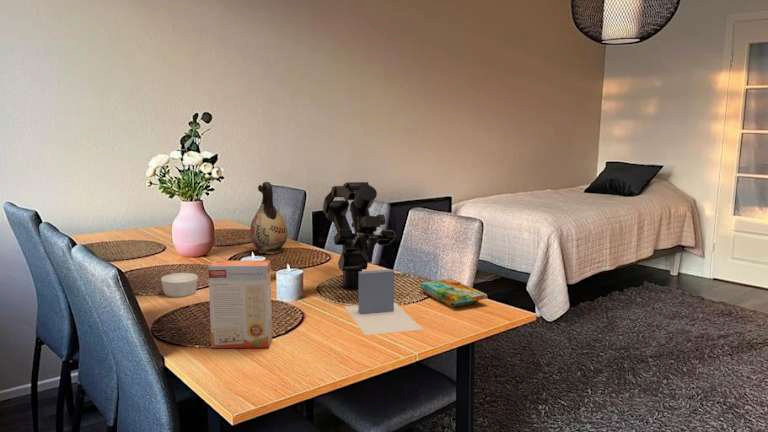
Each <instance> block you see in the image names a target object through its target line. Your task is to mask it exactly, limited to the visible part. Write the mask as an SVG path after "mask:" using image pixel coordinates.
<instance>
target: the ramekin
mask: <svg viewBox="0 0 768 432" xmlns="http://www.w3.org/2000/svg"><path fill="white" fill-rule="evenodd" d="M198 280H199V276H198V275H197V274H196V273H193V272H177V273H176V272H175V273H170V274H166V275H163V276H162V277H161V278H160V282H161V286H162V290H163V294H164V295H165V296H167V297H171V298H182V297H188V296H189V297H190V296H191V295H193V294H195V293H196V291H197V287H198V286H197V285H198Z"/></svg>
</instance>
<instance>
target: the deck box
mask: <svg viewBox="0 0 768 432" xmlns="http://www.w3.org/2000/svg"><path fill="white" fill-rule="evenodd" d="M357 291H358V292H357V293H358V296H357V297H358V301H357V303H358V304H357V305H358V312H359V313H360V314H371V313H382V312H393V311H394V302H395V270H393V268H392V269H390V268H389V269H378V270H362V271H360V272H359V288H358V289H357Z"/></svg>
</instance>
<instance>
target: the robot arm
mask: <svg viewBox="0 0 768 432" xmlns="http://www.w3.org/2000/svg"><path fill="white" fill-rule="evenodd" d="M377 195H378V192H377V190H376V188H374V186H372V185H370V184H369V182H368V181H357V182H356V181H351V182H349V181H347V182H345V183H344V184H343V185H334V186H332V187H331V190H330V192H329V193H328V194H327V195H326V196H325V198H324V200H323V205H322V212H323V213H324V215H325V217H326V219H327V220H329V221H330V222H332V223H333V225H334V227H335V230H336V233H335V235H334V237H333V241H334V242H333V243H334V245H336V246H342V250H341V254H340V256H339V259H338V262H337V264H338V270H340V271H341V272H342V274H343V275H342V283H341V284H339V285H338V286H339V287H341V288H343V289H345V290H349V291H354V290H358V288H359V272H360V271H367V269H368V265H369V264H371V263H372V262H373V256H374V250H375V247H376V246H377V244H378V246H389V245H391V243H393V241H395V239H396V238H397V236H396V232H395V231H394V230H393V229H382V230H381V231H380V233H375V232H376V231H377V228H381V226H384V225H386V217H385V214H381V213H379V214H377V215H371V214H370V210H369V209H371V208H372V205H373V203H374V201H375V200H376V198H377ZM335 198H343V199H340V200H339V199H338V200H337V199H336V200H335ZM349 201H351V203H350V202H349ZM348 211H349V213H350V215H351V220H352V222H351V226H350V224H349V221H348V217H347V215H348ZM352 228H353V230H352ZM353 231H354V233H353Z"/></svg>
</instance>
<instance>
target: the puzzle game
mask: <svg viewBox="0 0 768 432" xmlns="http://www.w3.org/2000/svg"><path fill="white" fill-rule="evenodd" d="M419 288H420V290H421V291H422V292H423V293H424V294H425V295H426V296H429V297H430V298H432V299H434V300H436V301H438V302H441V303H442V304H444V305H446V306H448V307H450V308H453V307H458V306H464V305H465V306H466V305H471V304H475V303H478V301H482V300H487V299H488V294H487V293H485V292H482V291H480V290H478V289H476V288H473V287H471V286H469V285H466V284H465V283H462V282H460V281H458V280H455V279H453V278H445V279H437V280H429V281H424V282H423V281H422V282H419Z"/></svg>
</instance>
